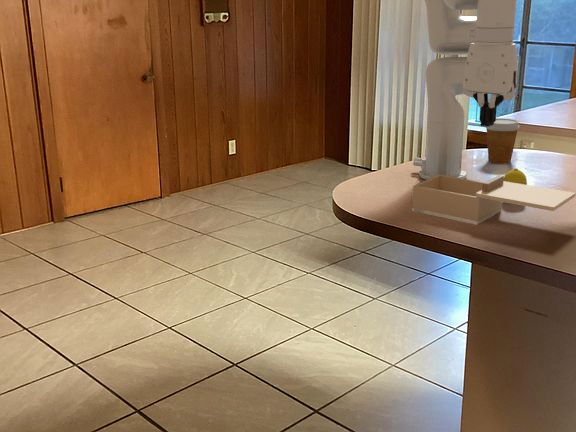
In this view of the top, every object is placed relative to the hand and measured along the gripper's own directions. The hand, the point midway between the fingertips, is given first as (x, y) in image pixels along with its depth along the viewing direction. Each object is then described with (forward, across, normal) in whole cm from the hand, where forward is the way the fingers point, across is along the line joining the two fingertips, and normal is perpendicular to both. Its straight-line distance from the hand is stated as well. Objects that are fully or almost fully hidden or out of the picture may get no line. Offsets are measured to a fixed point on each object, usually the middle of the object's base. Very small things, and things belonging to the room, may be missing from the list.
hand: (487, 125), depth 140 cm
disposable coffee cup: (+21, -18, +50) cm, 57 cm away
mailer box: (+20, -6, 0) cm, 21 cm away
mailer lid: (+14, +10, 0) cm, 17 cm away
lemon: (+21, +1, +15) cm, 25 cm away
